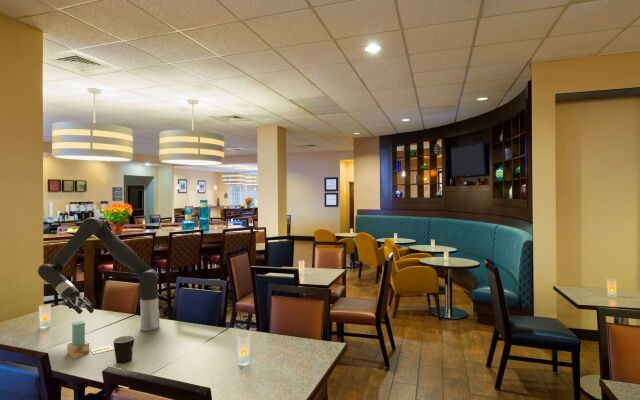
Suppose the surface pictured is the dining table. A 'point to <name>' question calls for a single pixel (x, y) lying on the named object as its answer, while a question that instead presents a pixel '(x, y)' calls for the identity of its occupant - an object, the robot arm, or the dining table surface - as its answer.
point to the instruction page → (102, 349)
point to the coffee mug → (123, 349)
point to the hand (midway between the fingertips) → (86, 312)
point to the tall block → (78, 333)
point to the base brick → (78, 349)
